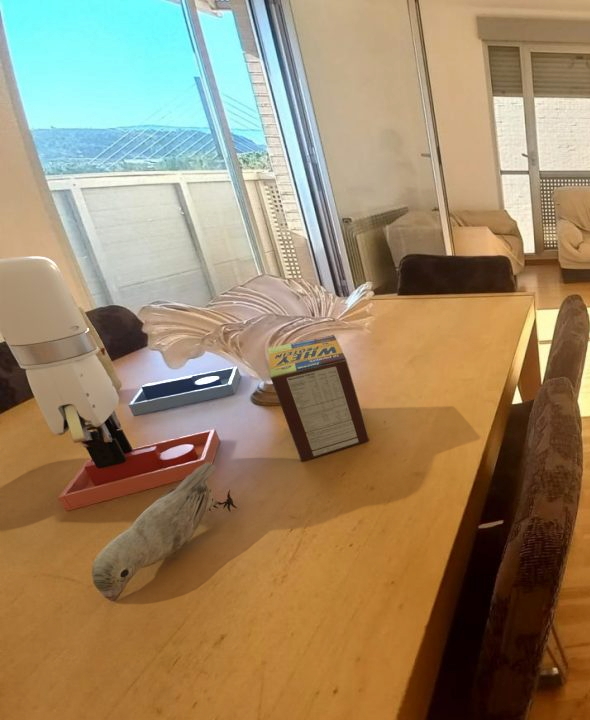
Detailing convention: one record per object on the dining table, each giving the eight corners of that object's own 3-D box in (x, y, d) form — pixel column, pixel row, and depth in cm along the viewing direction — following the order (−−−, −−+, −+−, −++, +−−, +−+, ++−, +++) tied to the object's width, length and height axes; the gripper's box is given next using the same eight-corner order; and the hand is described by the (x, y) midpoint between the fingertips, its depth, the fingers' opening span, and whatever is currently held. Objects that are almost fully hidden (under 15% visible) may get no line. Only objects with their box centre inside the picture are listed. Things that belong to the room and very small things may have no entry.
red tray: (66, 511, 67) (57, 497, 66) (94, 471, 76) (87, 459, 75) (209, 472, 75) (204, 459, 74) (220, 440, 84) (215, 428, 83)
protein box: (356, 407, 93) (334, 333, 87) (370, 441, 82) (347, 358, 76) (293, 425, 88) (266, 347, 82) (299, 463, 76) (268, 376, 70)
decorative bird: (88, 603, 52) (55, 552, 50) (209, 506, 67) (189, 462, 64) (134, 604, 52) (103, 552, 49) (245, 506, 67) (227, 462, 64)
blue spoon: (146, 405, 96) (139, 389, 95) (152, 397, 100) (144, 382, 99) (221, 389, 102) (215, 375, 101) (223, 382, 106) (218, 368, 104)
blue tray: (133, 415, 93) (128, 405, 92) (148, 394, 102) (143, 384, 101) (234, 394, 101) (230, 384, 100) (240, 376, 110) (237, 366, 109)
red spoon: (91, 491, 70) (80, 472, 69) (101, 476, 74) (90, 457, 73) (195, 464, 76) (187, 445, 75) (200, 451, 80) (192, 433, 78)
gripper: (43, 337, 70) (100, 443, 77) (-16, 375, 57) (60, 497, 64) (112, 327, 73) (160, 429, 81) (71, 360, 61) (133, 478, 68)
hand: (115, 458), depth 73 cm, fingers closed
